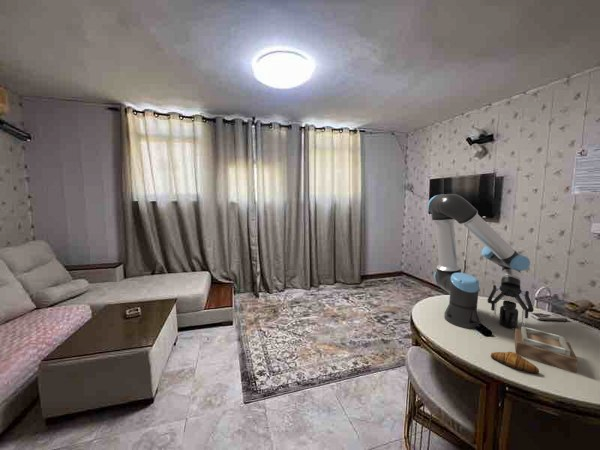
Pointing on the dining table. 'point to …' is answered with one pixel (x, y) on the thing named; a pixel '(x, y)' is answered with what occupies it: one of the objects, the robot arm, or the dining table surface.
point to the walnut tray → (545, 348)
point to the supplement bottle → (508, 315)
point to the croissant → (514, 361)
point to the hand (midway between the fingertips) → (508, 320)
